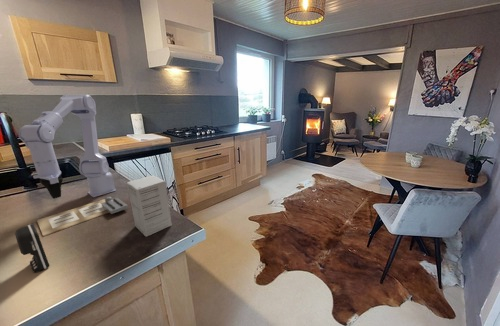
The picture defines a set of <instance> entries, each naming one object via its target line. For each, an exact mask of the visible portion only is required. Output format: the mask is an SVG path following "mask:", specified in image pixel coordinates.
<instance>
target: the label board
mask: <svg viewBox="0 0 500 326" xmlns="http://www.w3.org/2000/svg"><path fill="white" fill-rule="evenodd" d="M104 202H105V198H103V199H101V200H96V201H94V202H90V203H88V204H83V205H81V206H78V207H74V208H72V209H69V210H64V211H61V212H59V213H56V214H55V213H54V214H52V215H49V216H45V217H43V218H40V219H37V220H36V221H37V224H38V226H39V229H40V231H41V234H42V236H43V237H46V236H49V235H51V234H54V233H57V232H60V231H62V230H66V229H68V228H71V227H74V226H76V225H80V224H82V223H85V222H89V221H90V220H93V219H96V218H99V217H101V216H105V215H107V214H111V213H110V212H108V211H107V210H106V209H105V208H104V207H103V206H102V204H101V203H104Z"/></svg>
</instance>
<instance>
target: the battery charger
mask: <svg viewBox="0 0 500 326" xmlns="http://www.w3.org/2000/svg"><path fill="white" fill-rule="evenodd" d="M14 234H15V239H16V242H17V245H18V248H19V250H20V253H21V254H22V255H23V256H25V255H26V256H27V255H30V256H32V259H31V260H30V261H29V264H30V267H31V269H32V272H33V273H38V272H41V271H43V270H46V269H47V268H49V267H50V263H49V261H48V258H47V256H46V253H45V249H44V247H43V244H42V242H41V238H40V235H39V233H38V231H37V228H36V227H35V224H33V223H31V224H28V225H26V226H22V227H20V228H18V229H16V230H15V233H14Z"/></svg>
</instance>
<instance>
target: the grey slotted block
mask: <svg viewBox="0 0 500 326" xmlns="http://www.w3.org/2000/svg"><path fill="white" fill-rule="evenodd" d="M104 199H105V202H104V203H101V204H102V206H103V207H104V208H105V209H106V210H107V211H108V212H110V213H109V214H110V215H113V214H115V213H119V212H121V211H124V210H126V209H129V205H128V204H127V203H126V202H124V201H122V200H121V199H120V198H118V197H116V198H112V196H106V197H104Z"/></svg>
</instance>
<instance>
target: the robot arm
mask: <svg viewBox="0 0 500 326" xmlns="http://www.w3.org/2000/svg"><path fill="white" fill-rule="evenodd" d="M96 106H97V105H96V101H95V100H94V98H93V97H92V96H91V95H90V94H63V95H62V96H61V97H59V103H58V104H57V105H55V107H54V108H53V109H52V110H51V111H49V110H47V111H42V112H41V113H40V114H41V115H40V116H38V117H37V118H36V119H33V121H32V123H31V124H25V125H23V126H22V127H20V128H19V133H18V138H19V139H20V141H22V142H23V143H24V145H25V148H27V149H28V150H29V153H30V155H31V159H32V162H33V165H34V168H35V172H36V174H34V175H32V177H33V179H39V183H40V184H41V185H42V186H43V187H45V188H46V190H47V191H48V193H49V194H50V196H51V198H52V199H58V198H61V197H62V183H63V180H64V178H63V177H62V171H61V170H60V166H59V162H58V160H57V156H56V152H55V149H54V146H53V143H52V141H54V139H55V134H56V131H57V130H58V128H60V127H61V126H62V125H63V123H64V119H63V118H65V117H66V116H68V114H72V115H74V116H76V117H78V118H79V119H80V126H81V133H82V141H83V142H82V143H83V150H84V155H83V156H81V158H79V166H78V169H79V170H78V171H79V172H80V174H81V175H83V176H84V177H86V179H87V180H86V181H87V183H88V187H89V191H87V193H88V195H90V196H91V197H92V198H96V197H99V196H102V195H106V194H109V193H112V192H116V191H117V189H116V185H115V183H114V177H113V174H112V172H110V171H109V168H110V167H109V163H108V160H107V157H106V156H104V155H103V154H101V153H100V149H99V142H98V141H99V140H98V134H97V133H98V132H97V123H96V115H97V107H96Z"/></svg>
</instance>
